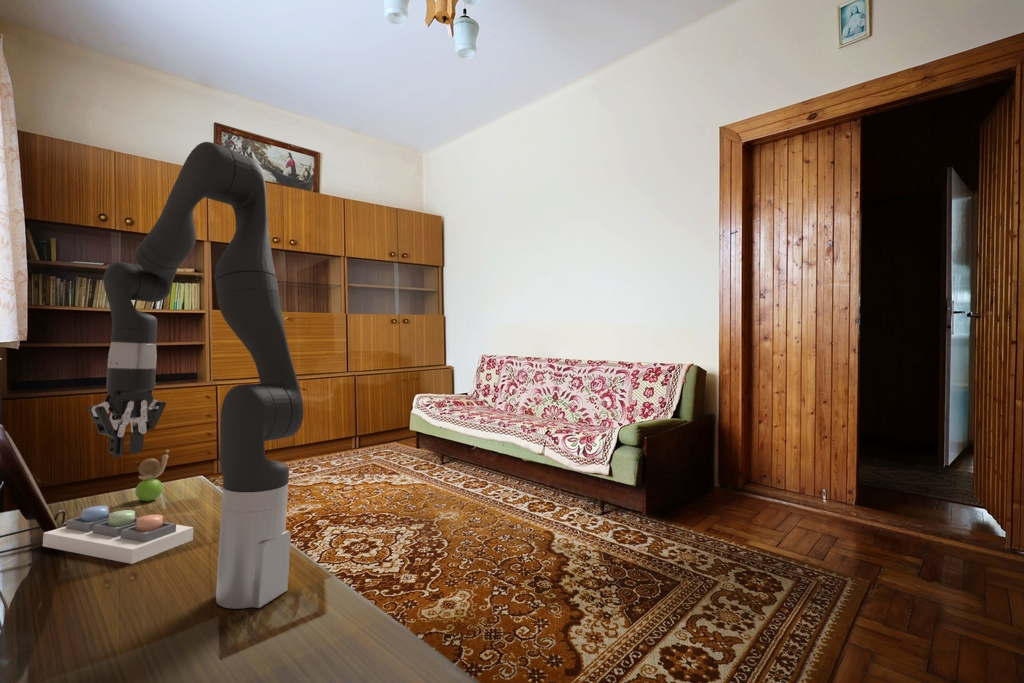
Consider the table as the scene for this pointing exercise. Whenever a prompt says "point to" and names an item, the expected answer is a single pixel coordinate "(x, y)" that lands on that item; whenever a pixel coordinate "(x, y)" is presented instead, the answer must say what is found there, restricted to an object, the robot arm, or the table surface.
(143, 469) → the snail figurine
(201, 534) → the table surface
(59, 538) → the button panel
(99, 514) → the slate button
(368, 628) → the table surface
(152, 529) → the salmon button
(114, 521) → the sage button
